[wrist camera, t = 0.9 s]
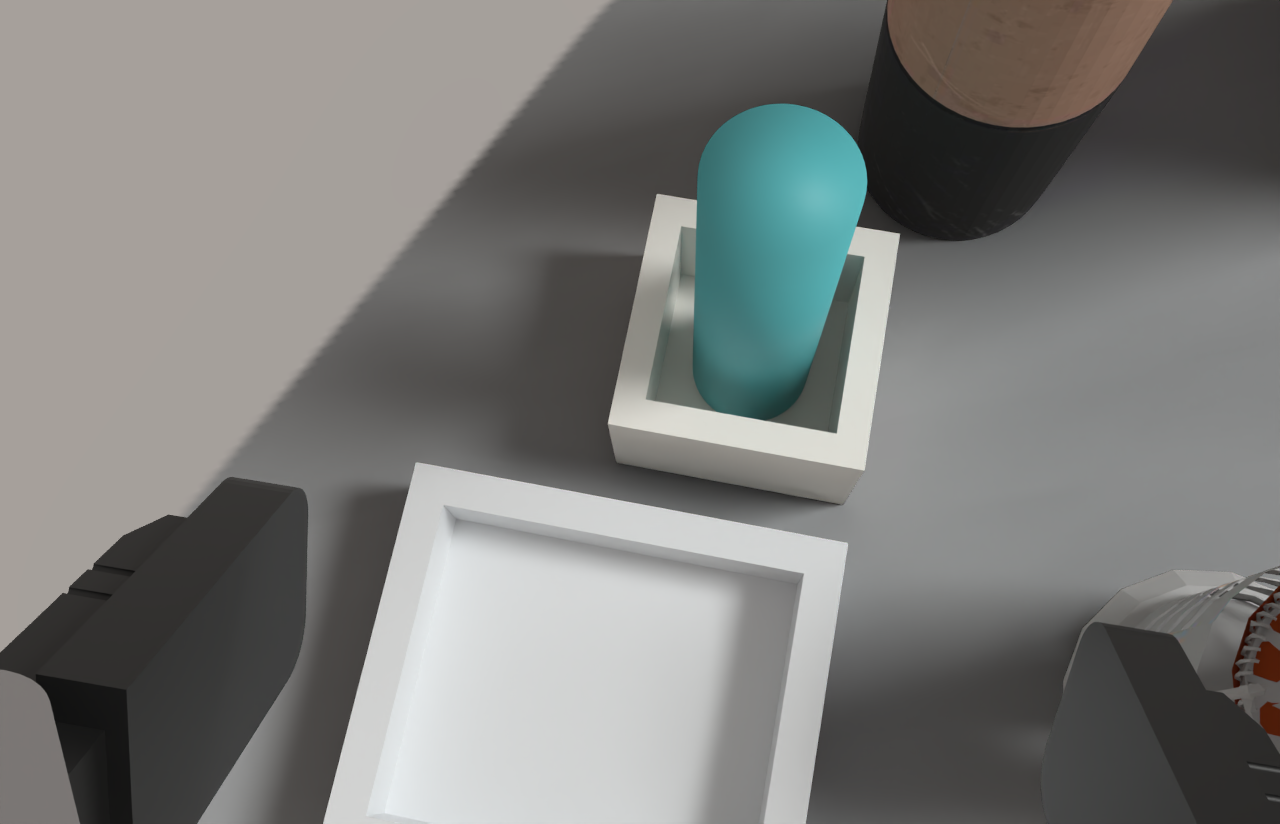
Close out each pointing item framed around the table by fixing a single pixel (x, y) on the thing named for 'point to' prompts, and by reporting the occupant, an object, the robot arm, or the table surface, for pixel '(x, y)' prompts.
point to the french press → (1213, 632)
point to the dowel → (769, 252)
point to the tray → (587, 664)
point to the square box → (733, 445)
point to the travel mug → (988, 102)
